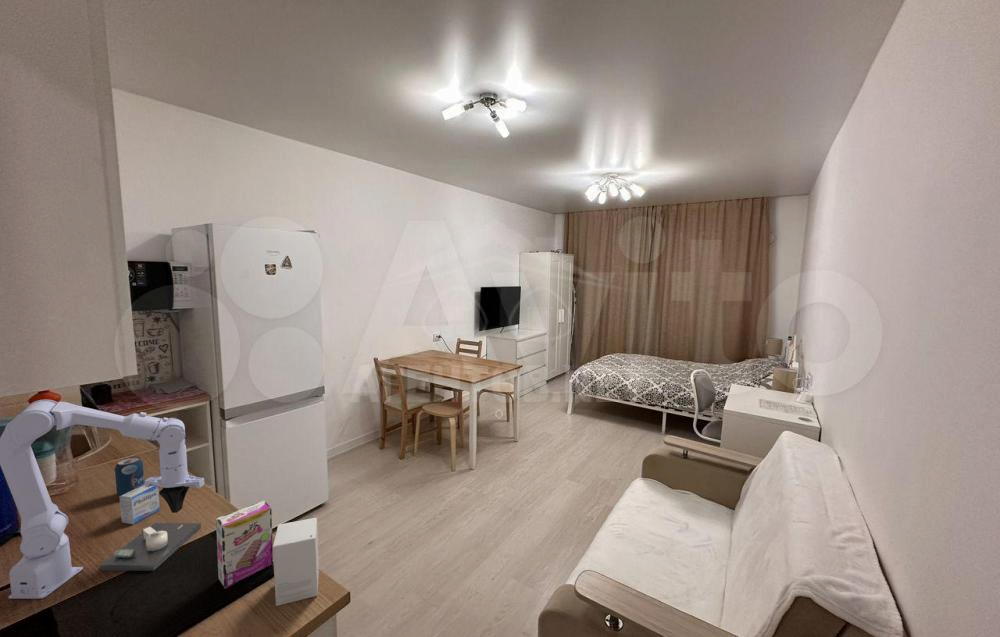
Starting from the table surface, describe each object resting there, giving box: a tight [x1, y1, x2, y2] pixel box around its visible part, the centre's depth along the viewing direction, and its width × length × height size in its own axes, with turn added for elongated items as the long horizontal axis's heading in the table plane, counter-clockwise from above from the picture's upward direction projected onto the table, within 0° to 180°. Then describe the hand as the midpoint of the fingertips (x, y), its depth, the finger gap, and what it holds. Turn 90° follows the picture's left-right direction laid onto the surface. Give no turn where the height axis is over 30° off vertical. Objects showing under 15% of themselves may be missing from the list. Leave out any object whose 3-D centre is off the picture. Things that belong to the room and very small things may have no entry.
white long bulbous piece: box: [141, 525, 168, 551], centre depth 110 cm, size 9×4×3 cm, turn 60°
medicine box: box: [118, 484, 160, 525], centre depth 124 cm, size 8×4×9 cm, turn 168°
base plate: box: [99, 522, 202, 572], centre depth 111 cm, size 17×13×3 cm
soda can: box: [114, 455, 145, 498], centre depth 135 cm, size 7×7×12 cm
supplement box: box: [272, 517, 320, 607], centre depth 98 cm, size 9×9×15 cm
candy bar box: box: [215, 500, 274, 590], centre depth 102 cm, size 11×5×16 cm, turn 141°
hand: (176, 510), depth 112 cm, fingers closed
